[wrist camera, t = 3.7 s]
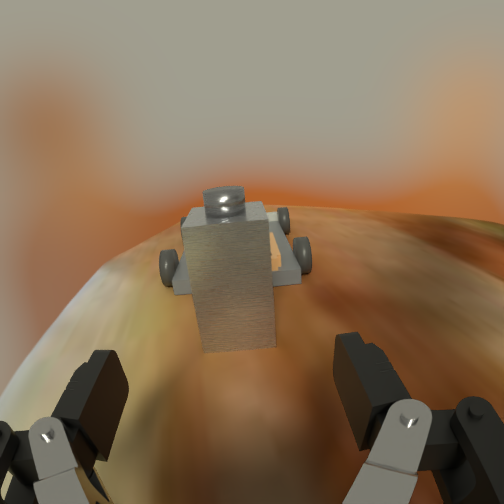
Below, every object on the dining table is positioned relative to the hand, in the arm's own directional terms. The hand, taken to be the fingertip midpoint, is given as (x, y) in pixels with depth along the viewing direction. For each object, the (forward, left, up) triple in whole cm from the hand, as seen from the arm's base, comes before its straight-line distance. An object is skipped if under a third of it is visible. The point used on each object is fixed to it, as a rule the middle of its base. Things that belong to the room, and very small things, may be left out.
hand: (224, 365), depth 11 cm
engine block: (-5, -10, -6) cm, 13 cm away
